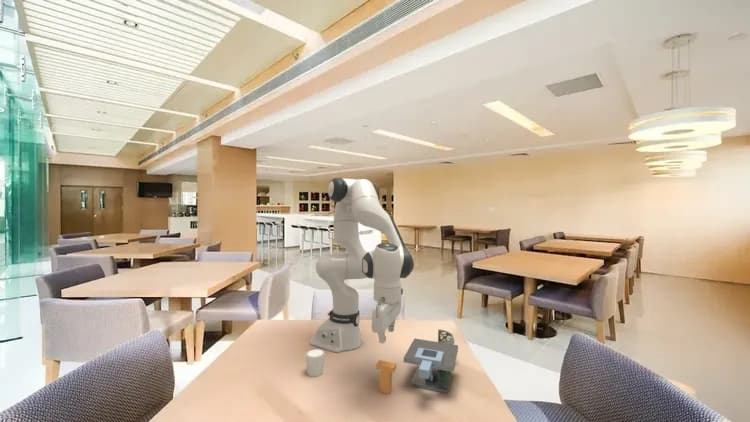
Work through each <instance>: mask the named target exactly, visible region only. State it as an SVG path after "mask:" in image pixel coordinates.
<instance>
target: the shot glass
mask: <svg viewBox="0 0 750 422" xmlns="http://www.w3.org/2000/svg"><path fill="white" fill-rule="evenodd" d="M325 356H326V351H325V349H323V348H313V349H310V350H308V351H307V352H305V358H306V359H305V360H306V371H307V375H308V376H310V377H318V376H322V375H323V373H324V370H325V369H324V367H325V358H326V357H325Z"/></svg>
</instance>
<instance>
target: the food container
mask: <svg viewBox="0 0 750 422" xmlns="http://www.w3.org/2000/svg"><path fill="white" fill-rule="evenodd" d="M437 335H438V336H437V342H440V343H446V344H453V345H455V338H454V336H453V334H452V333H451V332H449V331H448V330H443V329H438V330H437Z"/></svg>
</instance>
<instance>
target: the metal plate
mask: <svg viewBox="0 0 750 422" xmlns="http://www.w3.org/2000/svg"><path fill="white" fill-rule="evenodd" d="M418 348H424V349H430V350H436V351H442V352H444V357H443V360H442V364H441V366H437V365H432V371H431V374H430V377H429V379H425V378H420V377H419V367H420V365H421V362H415V361H414V356H415V354H416V352H417V350H418ZM458 351H459V345H457V344H446V343H440V342H438V341H432V340H427V339H421V338H413V341H412V342H411V344H410V346H409V347H408V349H407V350H406V353H405V354H404V356H403V363H405V364H410V365H411V364H412V365H416V366H417V368H416V370H415V373H414V374H413V377H412V378H411V382H410V387H414V388H419V389H424V390H428V391H432V392H437V393H442V394H446V395H447V394H448V392H449V388H450V384H451V379H452V372H454V370H455V366H456V362H457V356H458ZM423 356H428V357H434V358H436V356H435V355H429V354H424V355H423Z"/></svg>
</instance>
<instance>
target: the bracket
mask: <svg viewBox="0 0 750 422" xmlns="http://www.w3.org/2000/svg"><path fill="white" fill-rule="evenodd" d="M424 354H429V355H435V356H436V358H434V357H428V356H423V355H424ZM443 357H444V352H442V351H436V350H430V349H424V348H418V350H417V352H416V354H415V356H414V361H415V362H421V365H419V366H420V367H419V377H420V378H425V379H429V377H430V374H431V371H432V365H437V366H441V364H442V360H443Z"/></svg>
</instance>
